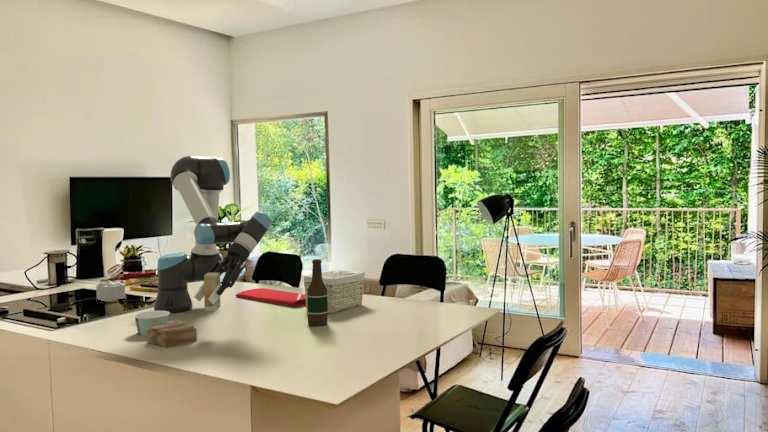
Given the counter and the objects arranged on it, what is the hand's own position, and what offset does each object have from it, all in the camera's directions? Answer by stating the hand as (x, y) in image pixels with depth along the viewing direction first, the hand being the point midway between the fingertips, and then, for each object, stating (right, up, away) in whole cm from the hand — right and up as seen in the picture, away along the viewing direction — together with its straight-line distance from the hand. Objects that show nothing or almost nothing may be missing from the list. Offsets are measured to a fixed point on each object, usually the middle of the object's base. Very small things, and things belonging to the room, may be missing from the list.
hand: (203, 300), depth 196 cm
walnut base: (-9, -13, -5) cm, 16 cm away
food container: (-21, -13, +8) cm, 26 cm away
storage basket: (+40, -10, +49) cm, 64 cm away
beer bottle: (+36, -12, +19) cm, 43 cm away
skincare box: (+2, -4, +3) cm, 5 cm away
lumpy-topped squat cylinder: (-65, -10, +70) cm, 96 cm away
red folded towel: (+12, -10, +67) cm, 69 cm away
